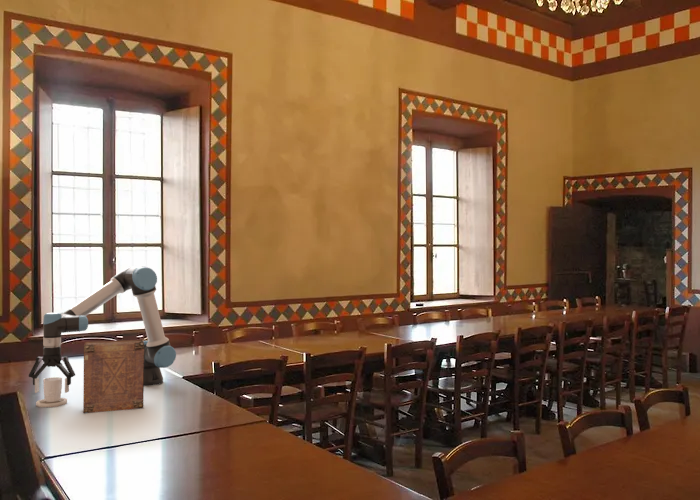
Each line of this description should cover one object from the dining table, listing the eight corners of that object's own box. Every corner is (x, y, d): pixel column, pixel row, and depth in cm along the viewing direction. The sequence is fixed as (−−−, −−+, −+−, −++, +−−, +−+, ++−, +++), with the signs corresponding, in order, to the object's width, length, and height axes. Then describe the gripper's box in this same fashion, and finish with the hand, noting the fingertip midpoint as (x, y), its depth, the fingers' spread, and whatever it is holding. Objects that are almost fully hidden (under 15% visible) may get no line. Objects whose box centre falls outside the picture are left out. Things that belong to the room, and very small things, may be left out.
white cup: (65, 398, 296) (65, 377, 297) (55, 402, 289) (55, 380, 289) (49, 398, 297) (49, 377, 297) (39, 402, 290) (39, 380, 290)
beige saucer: (71, 400, 300) (71, 397, 300) (60, 407, 287) (60, 403, 287) (43, 400, 299) (43, 397, 299) (31, 407, 286) (31, 404, 286)
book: (82, 413, 277) (83, 344, 277) (83, 408, 285) (83, 342, 285) (143, 408, 286) (144, 342, 286) (142, 403, 294) (142, 339, 294)
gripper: (20, 347, 289) (20, 394, 289) (76, 347, 290) (76, 393, 290) (28, 345, 296) (28, 390, 296) (82, 345, 297) (82, 390, 297)
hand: (51, 392), depth 293 cm, fingers open, 13 cm apart
